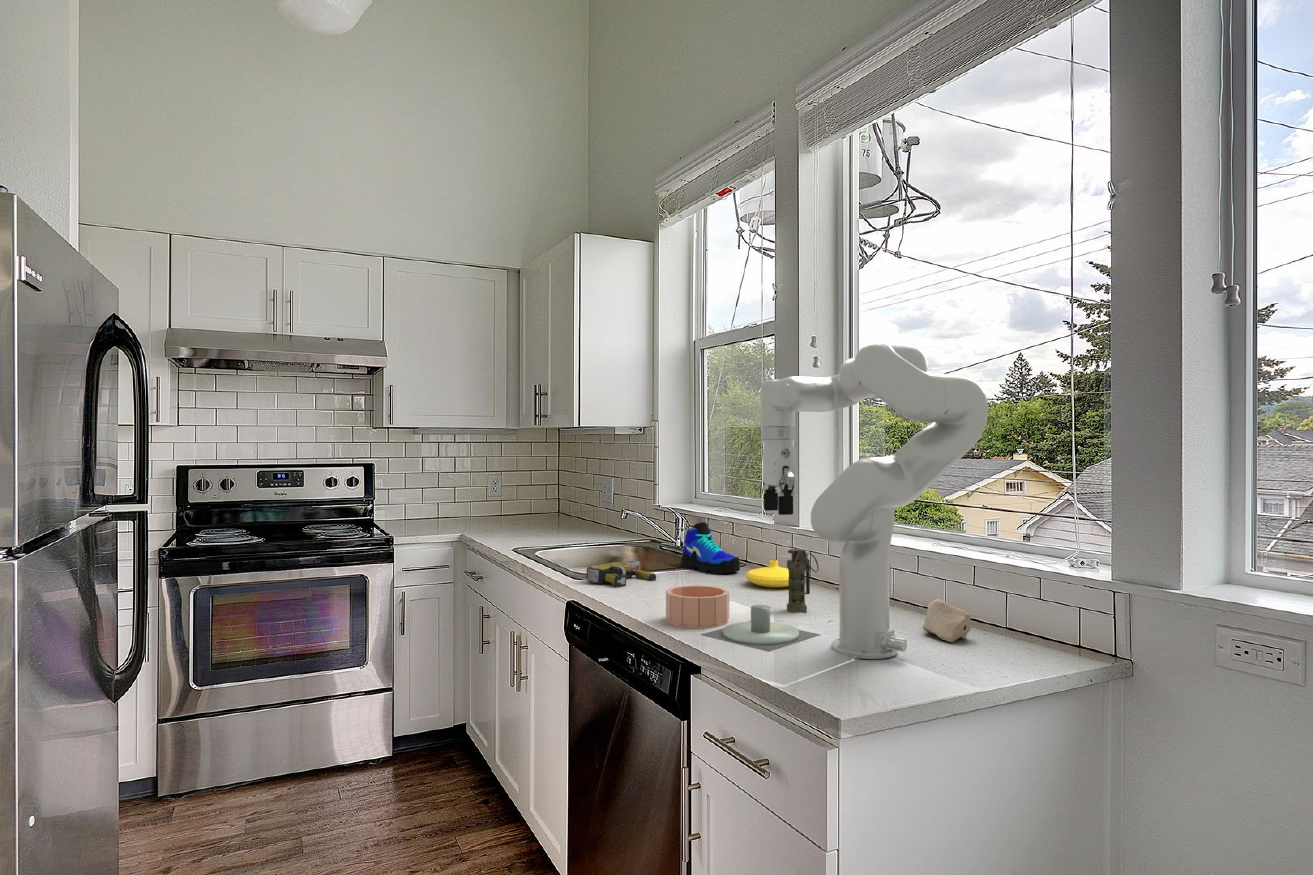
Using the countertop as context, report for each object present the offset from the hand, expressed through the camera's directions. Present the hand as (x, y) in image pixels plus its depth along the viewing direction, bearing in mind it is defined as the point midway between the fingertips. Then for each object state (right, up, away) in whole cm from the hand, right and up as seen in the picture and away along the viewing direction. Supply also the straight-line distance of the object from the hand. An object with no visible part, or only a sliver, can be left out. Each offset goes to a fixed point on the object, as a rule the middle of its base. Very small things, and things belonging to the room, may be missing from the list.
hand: (778, 512), depth 173 cm
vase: (+6, -25, +47) cm, 54 cm away
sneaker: (-10, -25, +72) cm, 77 cm away
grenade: (+8, -26, +14) cm, 30 cm away
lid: (-5, -25, -9) cm, 27 cm away
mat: (-5, -25, -9) cm, 27 cm away
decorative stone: (+34, -26, -8) cm, 43 cm away
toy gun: (-35, -26, +56) cm, 71 cm away
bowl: (-18, -25, +4) cm, 31 cm away
